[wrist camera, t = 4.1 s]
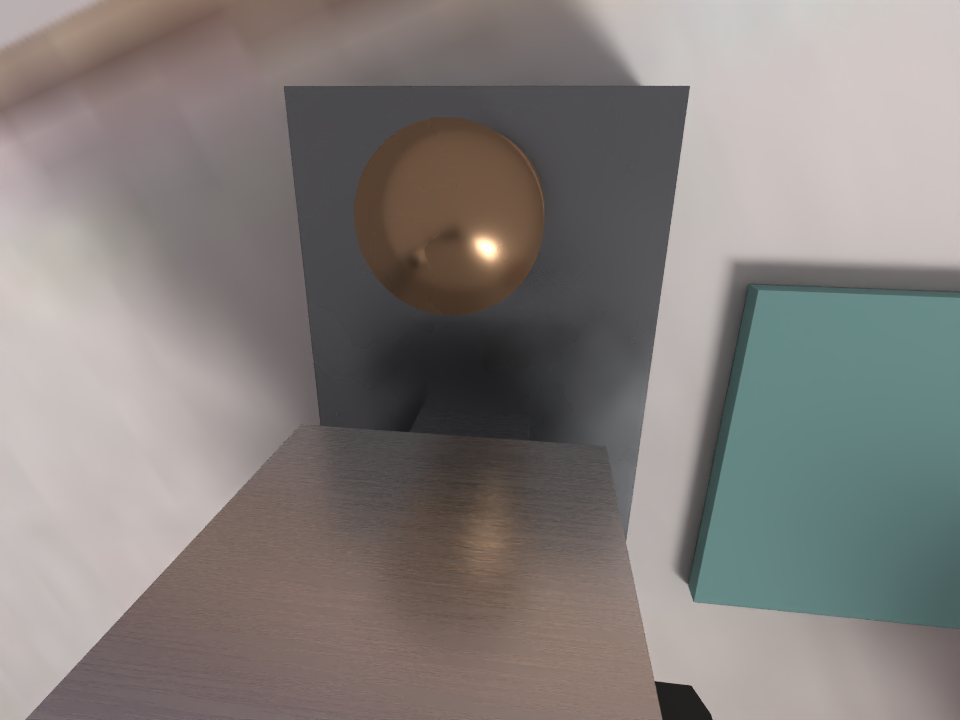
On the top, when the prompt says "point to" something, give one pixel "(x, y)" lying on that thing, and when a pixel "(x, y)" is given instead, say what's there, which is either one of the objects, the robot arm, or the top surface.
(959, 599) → the rubber mat
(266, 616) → the lever cap
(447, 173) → the hand plane
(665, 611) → the top surface
